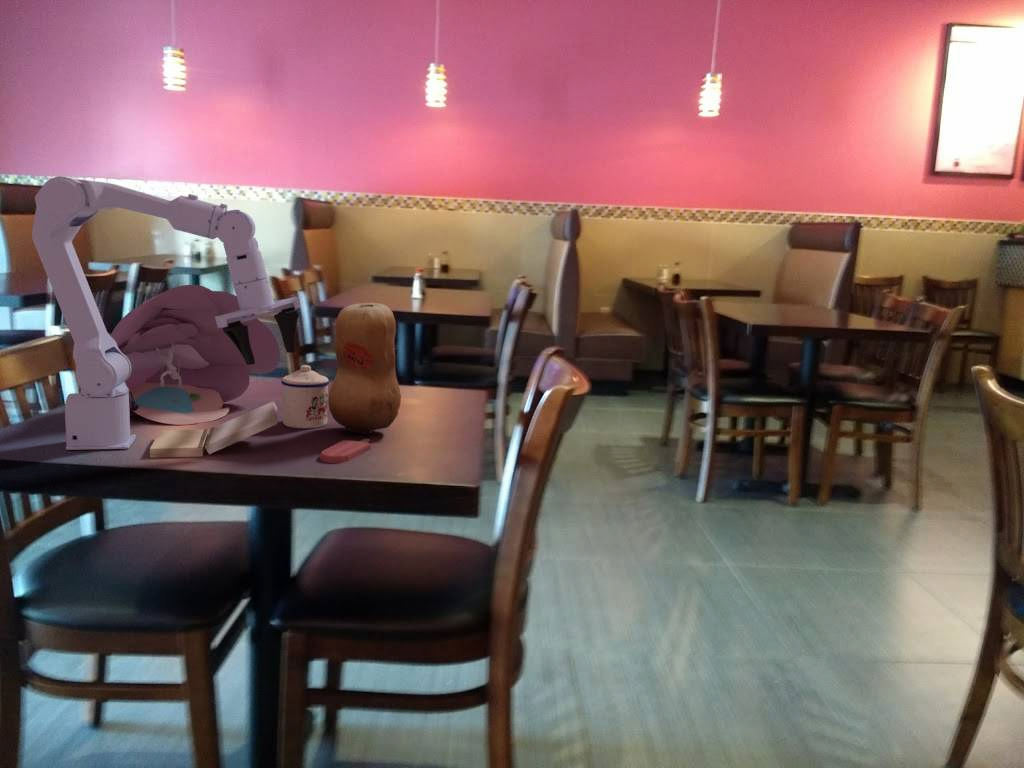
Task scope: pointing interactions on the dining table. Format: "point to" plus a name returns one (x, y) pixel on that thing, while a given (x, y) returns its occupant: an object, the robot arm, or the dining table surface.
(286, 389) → the teacup with lid
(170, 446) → the laid board
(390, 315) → the butternut squash
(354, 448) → the popsicle
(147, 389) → the mauve lumpy shape
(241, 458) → the dining table surface
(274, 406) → the beige flat square block
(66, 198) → the robot arm
